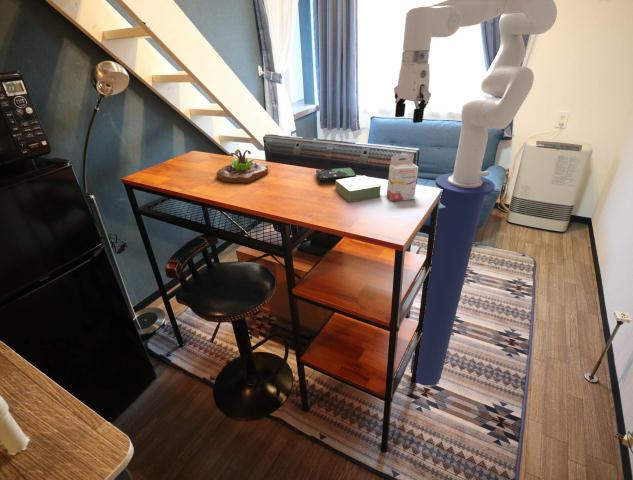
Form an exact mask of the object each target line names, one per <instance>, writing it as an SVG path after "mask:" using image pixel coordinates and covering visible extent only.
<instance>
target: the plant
mask: <svg viewBox="0 0 633 480" xmlns="http://www.w3.org/2000/svg"><path fill="white" fill-rule="evenodd" d="M246 153H247V154H248V155H251V154H252V152H251V151H250V150H248V149H246V150H245V151H244V152H243V154H242V152H241V150H240V149H235V151H234V152H231V153H230V154H229V156H230V157H234V156H236V158H235V159H230V160H229V161H230V162H231V163H230V164H227V165H224V166H223V167H222V168H219V169H218V170H217V172H216V177H217V179H220V180H221V181H222V182H226V183H232V184H237V183H242V184H249V183H252V182H254V181H256V180H258V179H260V178H261V177H265V176H266V175H267V174H268V172H269V171H268V170H269V169H268V168H269V167H268V165H267V164H266V163H260V162H257V161H254V159H251V160H249V158H248V157H246Z"/></svg>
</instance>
